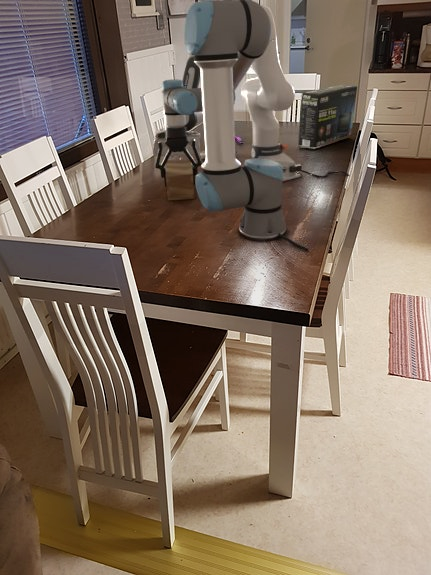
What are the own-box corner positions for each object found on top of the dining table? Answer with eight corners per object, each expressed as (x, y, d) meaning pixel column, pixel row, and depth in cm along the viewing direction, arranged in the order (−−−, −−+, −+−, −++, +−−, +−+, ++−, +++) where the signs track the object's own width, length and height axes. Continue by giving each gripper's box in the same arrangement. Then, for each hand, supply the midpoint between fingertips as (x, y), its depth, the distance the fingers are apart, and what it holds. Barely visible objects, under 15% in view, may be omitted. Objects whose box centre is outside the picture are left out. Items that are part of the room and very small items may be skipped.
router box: (314, 151, 231) (318, 94, 217) (296, 148, 237) (299, 92, 224) (352, 138, 251) (358, 85, 238) (335, 135, 258) (340, 83, 245)
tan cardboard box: (168, 183, 196) (166, 160, 191) (192, 182, 197) (190, 159, 191) (167, 200, 178) (165, 175, 173) (194, 198, 179) (193, 174, 174)
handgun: (222, 137, 264) (222, 134, 263) (235, 136, 265) (235, 132, 264) (230, 145, 246) (230, 142, 245) (244, 144, 247) (244, 140, 246)
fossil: (226, 156, 214) (204, 136, 217) (214, 175, 220) (193, 155, 224) (245, 154, 228) (224, 134, 231) (233, 171, 234) (214, 152, 237)
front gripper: (206, 122, 171) (208, 179, 183) (144, 125, 170) (151, 183, 182) (207, 126, 165) (210, 186, 176) (143, 129, 164) (150, 189, 175)
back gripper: (200, 129, 194) (201, 162, 201) (151, 131, 192) (154, 164, 199) (201, 132, 188) (202, 166, 195) (151, 134, 187) (154, 168, 194)
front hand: (180, 184), depth 179 cm, fingers closed on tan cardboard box, 10 cm apart
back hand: (177, 165), depth 197 cm, fingers closed
